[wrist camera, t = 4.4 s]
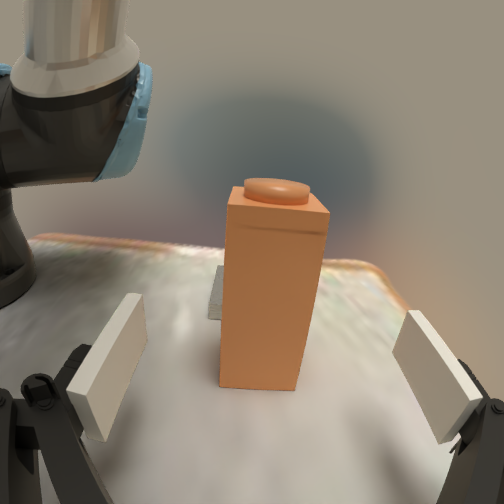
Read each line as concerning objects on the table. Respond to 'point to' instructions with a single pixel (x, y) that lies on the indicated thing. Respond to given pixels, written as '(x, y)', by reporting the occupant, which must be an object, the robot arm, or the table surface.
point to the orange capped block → (269, 282)
